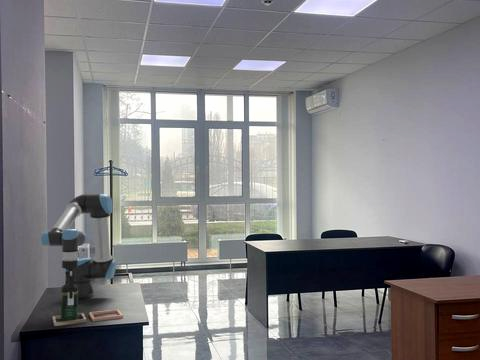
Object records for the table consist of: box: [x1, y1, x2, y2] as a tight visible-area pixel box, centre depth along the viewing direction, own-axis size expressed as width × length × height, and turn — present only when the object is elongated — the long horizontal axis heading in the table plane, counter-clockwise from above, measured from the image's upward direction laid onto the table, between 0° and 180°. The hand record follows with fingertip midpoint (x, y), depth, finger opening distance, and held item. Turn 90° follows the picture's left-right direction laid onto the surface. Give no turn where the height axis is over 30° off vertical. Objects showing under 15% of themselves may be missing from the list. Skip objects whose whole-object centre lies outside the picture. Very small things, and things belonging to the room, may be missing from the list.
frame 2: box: [88, 308, 124, 322], centre depth 241 cm, size 13×15×2 cm
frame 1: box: [52, 312, 87, 327], centre depth 233 cm, size 13×15×2 cm
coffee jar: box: [60, 283, 79, 322], centre depth 233 cm, size 10×8×19 cm
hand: (69, 302), depth 233 cm, fingers open, 13 cm apart
